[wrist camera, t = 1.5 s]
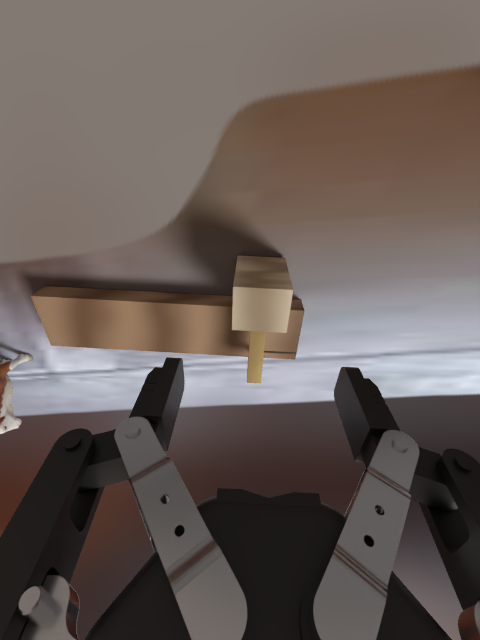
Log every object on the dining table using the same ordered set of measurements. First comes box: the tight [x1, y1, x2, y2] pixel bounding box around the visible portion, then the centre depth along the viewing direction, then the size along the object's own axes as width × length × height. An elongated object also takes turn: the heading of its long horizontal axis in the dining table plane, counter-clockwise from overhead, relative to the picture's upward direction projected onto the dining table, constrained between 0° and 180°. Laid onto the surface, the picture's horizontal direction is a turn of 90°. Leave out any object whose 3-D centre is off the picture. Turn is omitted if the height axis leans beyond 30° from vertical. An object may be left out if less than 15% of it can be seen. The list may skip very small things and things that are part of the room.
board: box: [31, 286, 304, 359], centre depth 27 cm, size 24×6×2 cm, turn 88°
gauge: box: [232, 256, 293, 383], centre depth 24 cm, size 4×10×6 cm, turn 178°
